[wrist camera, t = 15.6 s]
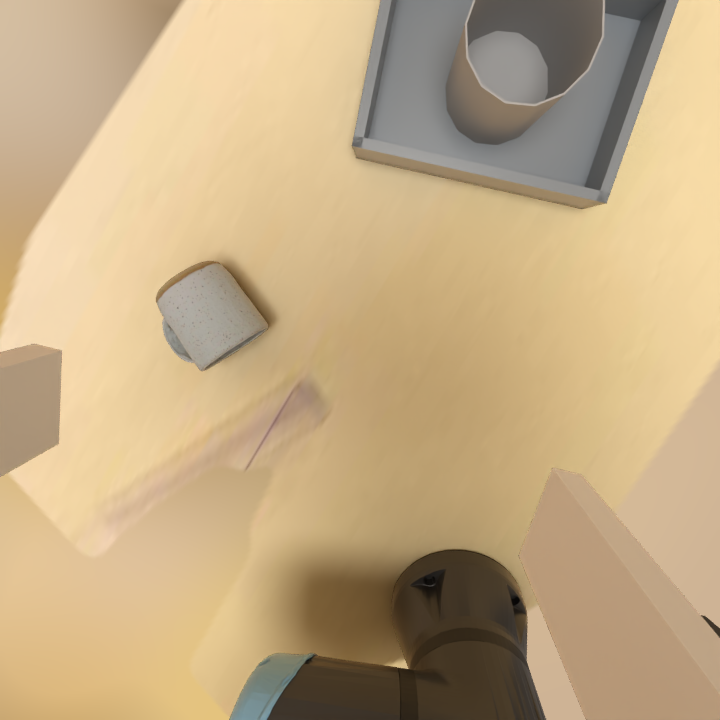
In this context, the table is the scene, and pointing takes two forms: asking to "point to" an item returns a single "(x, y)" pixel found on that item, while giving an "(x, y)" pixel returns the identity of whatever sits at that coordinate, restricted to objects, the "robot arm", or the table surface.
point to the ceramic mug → (207, 315)
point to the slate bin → (542, 139)
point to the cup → (519, 63)
